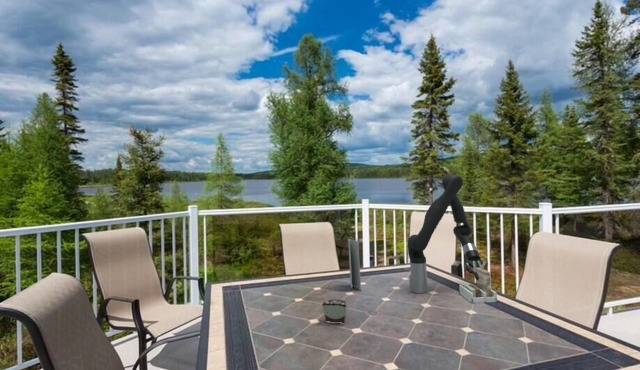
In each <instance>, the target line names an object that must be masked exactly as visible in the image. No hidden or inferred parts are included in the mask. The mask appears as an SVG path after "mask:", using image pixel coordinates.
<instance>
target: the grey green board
mask: <svg viewBox="0 0 640 370" xmlns="http://www.w3.org/2000/svg"><path fill="white" fill-rule="evenodd" d="M476 272H477V274H478V277H479V279H478V280H477V279H475V286H476V287H478V288H479V289H481V290H482V291H484V292H485V293H486V297H491V289H492V287H491V286H492V285H491V284H492V283H491V281H492V280H491V272H490V271H488V270H487V271H486V270H484V268H483V269H482V268H480V267H479V268H476Z"/></svg>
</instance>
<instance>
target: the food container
mask: <svg viewBox="0 0 640 370" xmlns="http://www.w3.org/2000/svg"><path fill="white" fill-rule="evenodd" d="M321 307H323V314H324V318H325V319H324V320H325V322H326V321H330V322H342V323H345V324H346V314H347V308H348V303H347V301H346V300H345V299H340V298H331V299H326V300H324V301H322V303H321Z"/></svg>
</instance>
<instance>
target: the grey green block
mask: <svg viewBox="0 0 640 370" xmlns="http://www.w3.org/2000/svg"><path fill="white" fill-rule="evenodd" d="M468 285H469V286H471V287H472V288H474V289H475V291H476V298H478V297H480V289H478V288H477V287H475V286H476V285H475V286H474V284H473V285H471V284H468Z"/></svg>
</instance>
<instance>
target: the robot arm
mask: <svg viewBox="0 0 640 370" xmlns="http://www.w3.org/2000/svg"><path fill="white" fill-rule="evenodd" d="M463 183H464V181H463V177H462V176H460V175H457V174H446V175H444V176H443V177H442V180H441V184H442V187H443V189H444V192H443V193H442V194H441V195H440V196H439V197H438V198H436V199H435V200H434V201H433V202H432V203H431V204H430V205H429V207H428V209H427V210H426V212H425V214H424V215H425V216H424V219H423V223H422V227H421V228H420V231H419V232H418V233H417V234H411V235H410V236H409V237H408V240H407V251H408V254H407V255H408V258H409V266H410V267H409V268H410V271H409V272H410V275H409V277H408V278H409V291H410V292H411V293H415V294H426V293H428V290H429V289H428V276H427V275H428V272H427V257H426V256H425V254H424V251H425V250H426V249H427V246H428V245H429V242H430V241H431V238H432V236H433V234H434V232H435V231H436V229H437V227H438V225H439V223H440V222H441V220H442V219H443V217H444V215H445V214H446V211H447V209H448V208H449V206H450V208H451V213H452V216H453V221H454V223H455V224H461V225H456V226H454V227H453V229H452V232H453V234H454V236H455V237H456V238H457V239H458V241H459V242H460V245H461V247H462V251H463V254H464V257H465V259H466V262H465V263H464V264H463V267H464V269H466V271H467V272H468V273H469V274H471V275H473V277H474V279H475V280H476V279H477V280H478V279H479V277H478V274H477V272H476V268H479V267H480V268H482V269H484V270H486V271H488V265H489V262H487V261H486V262H484V261H483V260H482V259H481V256H480V253H479V251H478V248H477V246H476V245H475V242H474V239H473V238H472V237H471V235H472V233H473V229H472V226H471V225H470V224H469V222H468V220H467V217H466V213H465V208H464V205H463V204H462V202H461V201H460V198H459V197H458V193H459V192H460V190H461V189H462V187H463Z"/></svg>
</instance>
